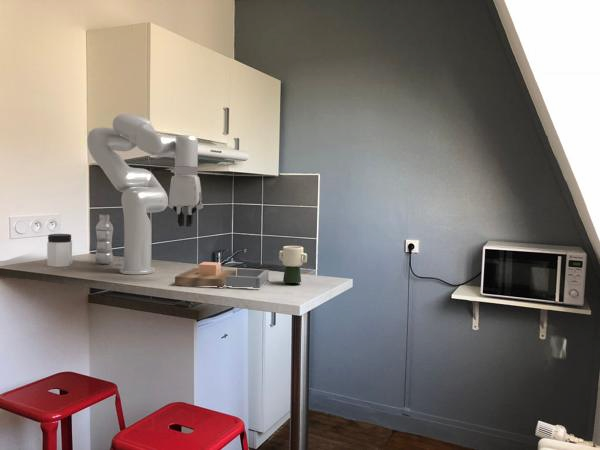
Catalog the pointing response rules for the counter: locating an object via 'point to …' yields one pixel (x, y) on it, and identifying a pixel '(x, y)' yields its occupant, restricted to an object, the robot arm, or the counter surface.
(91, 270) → the counter surface
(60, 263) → the jar
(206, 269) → the orange block
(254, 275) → the box
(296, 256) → the character mug
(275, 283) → the counter surface
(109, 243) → the plastic bottle
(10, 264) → the counter surface
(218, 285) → the platform
